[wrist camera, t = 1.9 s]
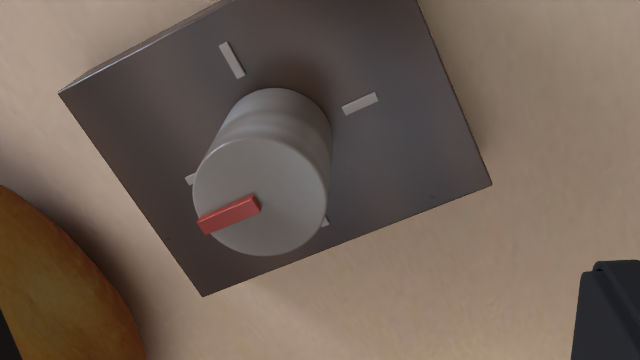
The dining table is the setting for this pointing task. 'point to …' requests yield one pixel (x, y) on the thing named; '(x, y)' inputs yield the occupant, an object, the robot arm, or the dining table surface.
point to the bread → (58, 292)
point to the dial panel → (293, 74)
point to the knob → (266, 174)
